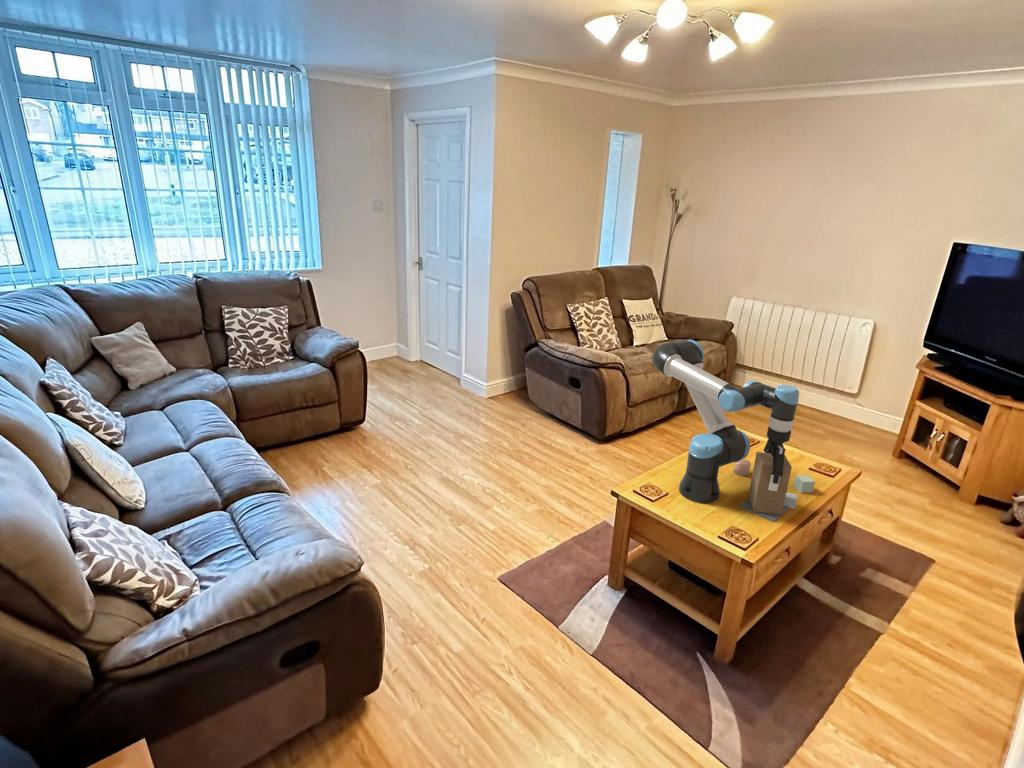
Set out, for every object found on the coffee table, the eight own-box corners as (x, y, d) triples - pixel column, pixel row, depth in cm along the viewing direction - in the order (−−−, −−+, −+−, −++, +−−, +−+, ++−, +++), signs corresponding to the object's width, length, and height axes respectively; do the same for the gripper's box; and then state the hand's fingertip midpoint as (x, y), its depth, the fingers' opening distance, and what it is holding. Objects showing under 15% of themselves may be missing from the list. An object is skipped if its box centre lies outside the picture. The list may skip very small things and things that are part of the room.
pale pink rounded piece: (734, 475, 227) (736, 464, 225) (732, 468, 232) (734, 458, 231) (750, 477, 226) (752, 466, 224) (747, 470, 231) (749, 459, 230)
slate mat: (773, 522, 195) (773, 520, 195) (738, 506, 204) (739, 505, 204) (788, 509, 203) (789, 507, 203) (755, 495, 212) (755, 493, 212)
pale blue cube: (783, 506, 205) (785, 496, 204) (784, 501, 208) (786, 492, 207) (795, 509, 203) (797, 499, 202) (795, 504, 207) (797, 495, 205)
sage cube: (800, 493, 214) (803, 481, 213) (793, 486, 219) (795, 475, 217) (812, 492, 215) (815, 481, 213) (804, 486, 220) (807, 475, 218)
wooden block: (781, 515, 198) (792, 466, 191) (752, 512, 200) (762, 463, 193) (775, 501, 207) (785, 454, 200) (747, 498, 209) (756, 451, 202)
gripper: (800, 444, 180) (787, 499, 187) (783, 416, 203) (772, 466, 210) (776, 441, 182) (764, 496, 189) (761, 413, 205) (752, 463, 212)
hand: (768, 480), depth 200 cm, fingers open, 13 cm apart
